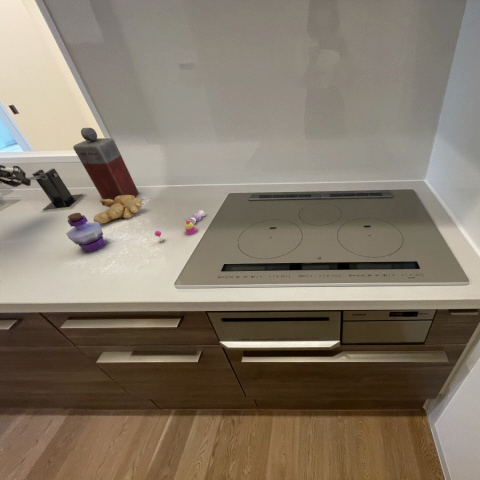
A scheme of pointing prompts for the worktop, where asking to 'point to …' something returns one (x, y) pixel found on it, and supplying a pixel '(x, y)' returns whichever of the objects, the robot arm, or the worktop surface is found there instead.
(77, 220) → the potion bottle
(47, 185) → the lever switch
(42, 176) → the tap lever
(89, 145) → the red square bottle
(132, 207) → the ginger root
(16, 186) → the robot arm
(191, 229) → the pink and purple pieces
